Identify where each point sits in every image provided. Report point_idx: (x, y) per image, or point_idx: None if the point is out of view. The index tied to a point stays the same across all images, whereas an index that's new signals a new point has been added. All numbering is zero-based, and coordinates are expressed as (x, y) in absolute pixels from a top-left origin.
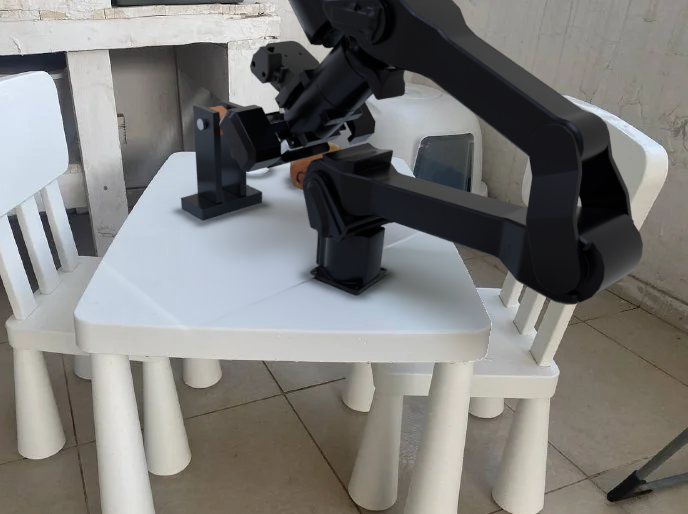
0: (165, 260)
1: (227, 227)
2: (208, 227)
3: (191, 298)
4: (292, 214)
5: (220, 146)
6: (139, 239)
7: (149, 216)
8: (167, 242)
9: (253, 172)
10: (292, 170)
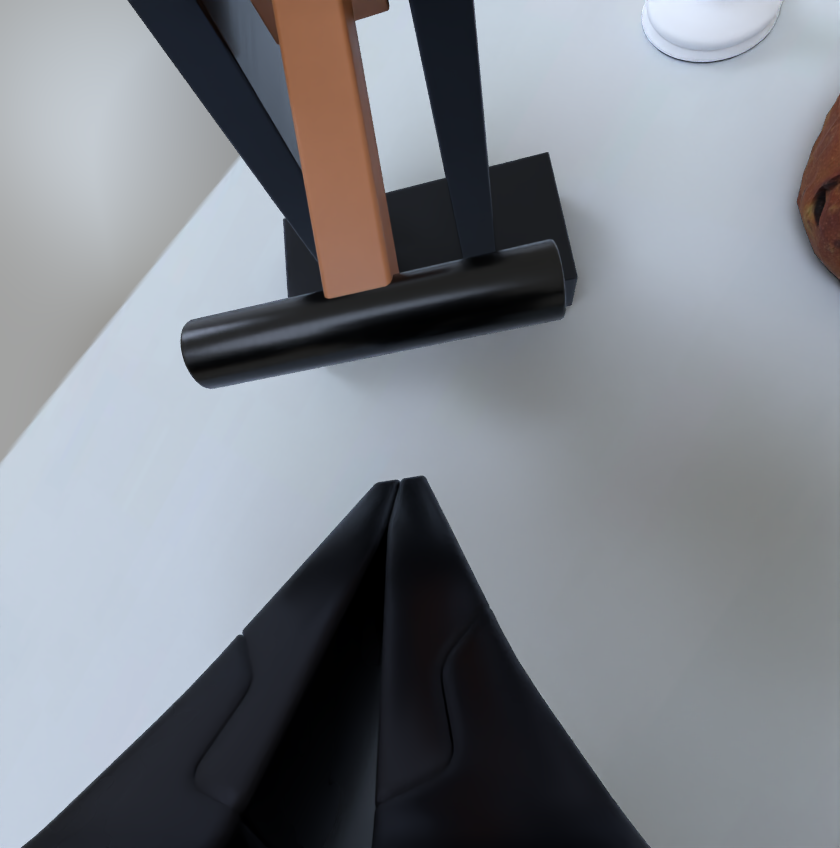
0: (106, 533)
1: (366, 418)
2: (315, 389)
3: (39, 797)
4: (641, 430)
5: (279, 144)
6: (121, 373)
7: (214, 243)
8: (167, 428)
9: (685, 39)
10: (832, 131)
